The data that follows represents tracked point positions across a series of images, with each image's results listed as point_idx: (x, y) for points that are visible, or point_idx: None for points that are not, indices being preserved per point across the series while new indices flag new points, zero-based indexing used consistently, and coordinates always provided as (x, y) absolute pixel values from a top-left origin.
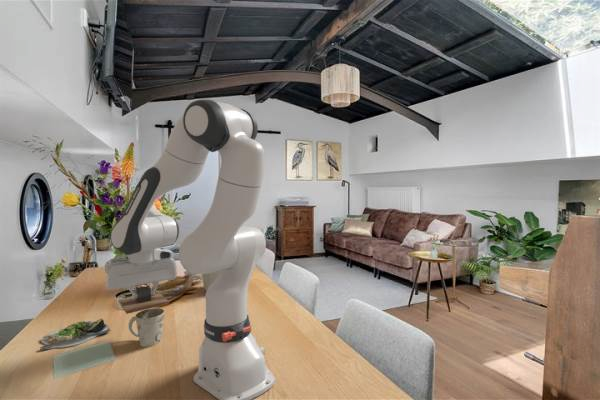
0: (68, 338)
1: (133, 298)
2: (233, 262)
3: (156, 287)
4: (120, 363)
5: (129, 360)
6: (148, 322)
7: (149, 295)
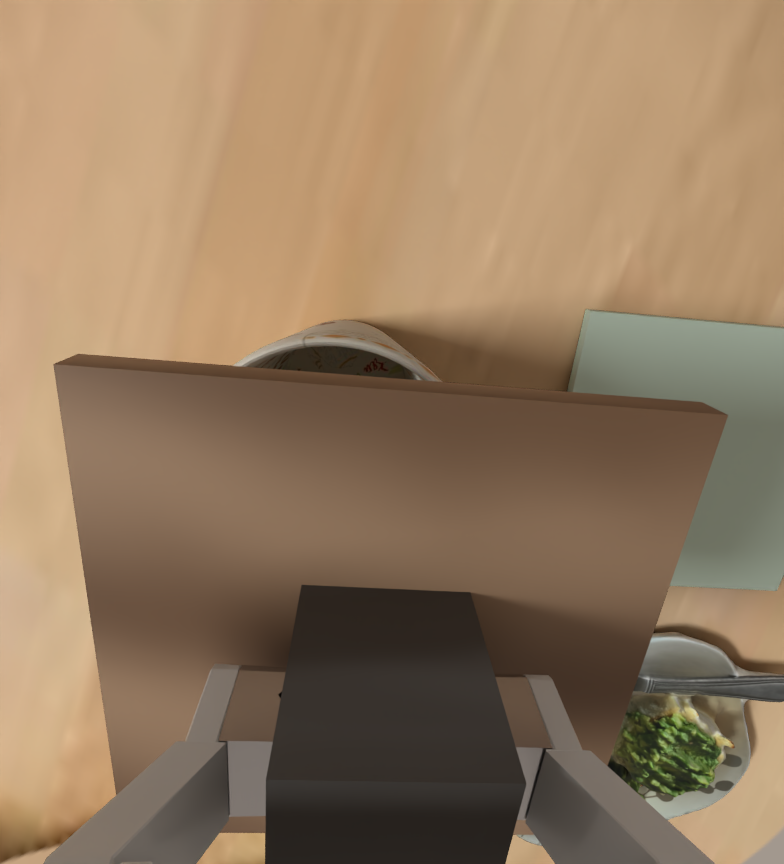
0: (684, 703)
1: (553, 688)
2: None
3: (129, 795)
4: (579, 260)
5: (527, 257)
6: (394, 346)
7: (314, 652)
